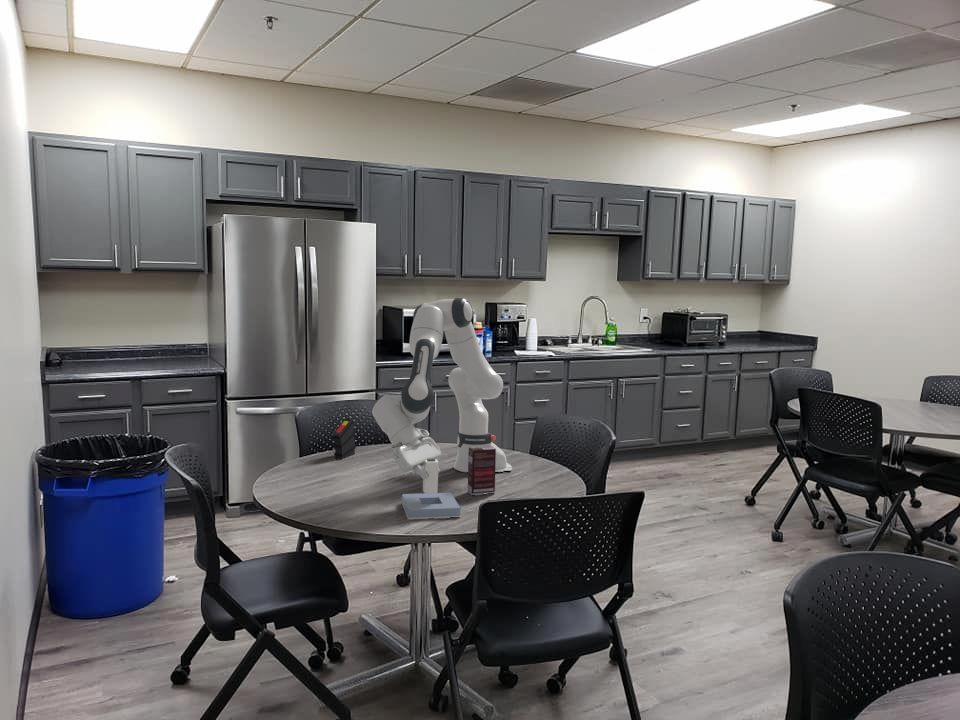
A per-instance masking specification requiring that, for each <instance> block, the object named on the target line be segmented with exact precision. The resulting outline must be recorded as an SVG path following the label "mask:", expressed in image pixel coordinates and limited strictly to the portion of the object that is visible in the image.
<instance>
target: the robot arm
mask: <svg viewBox="0 0 960 720" xmlns="http://www.w3.org/2000/svg"><path fill="white" fill-rule="evenodd" d="M473 310H474V309H473V307H472V304H471V303H470V301H469V300H467V299H466V298H464V297H456V298H444V299H439V300H435V301H430V302H425V303H424V302H423V303H422V304H419V305H417V306H416V307H415V309H414V311H413V314H412V319H413V321H412V325H411V329H410V334H409V352H410V354H411V355H412V356H413V357H412V359H413V361H412V367H411V372H410V376H409V378H408V380H407V381H406V383H405V384H404V386H403V388H402V389H401V394H397V395H396V394H395V395H393V394H392V395H391V394H384V395H382V396H380V397H379V398H378V399H377V400H376V401H375V403H374V404H373V407H372V409H371V411H372V412H371V413H372V416H373V418H374V420H375V422H376V423H377V424H378V426H379V428H380V429H381V430H382V432H384V433H385V434H386V435H387V437H388V439H389V441H390V443H391V444H392V445H391V446H390V452H391V453H392V456H393V459H394V461H395V463H396V465H397V466H398V468H399V469H400V471H401V472H403V473H407V472H409V471H410V472H411V471H412V470H413V472H414V473H415V474H417V475H418V476H420V478H422V480H423V479H427V478H428V477H429V474H428V473H427V471H426V472H425V471H424V468H423V469H422V467H424V462H425V461H426V460H427V458H435V459H437V460H439V458H441V456H442V450H441V449H440V447H439V445H438V444H437V443H436V442H435V440H434V439H433V438H432V437H430V433H429V431H428V430H427V429H423V428H418V427H415V424H418V423H419V422H423V421H424V419H426V418H427V416H428V415H429V412H430V409H431V405H432V403H433V402H434V398H435V395H434V390H433V389H434V388H433V386H432V381H431V376H432V370H433V369H432V368H433V362H434V360H435V359H436V358H437V357H438V356H439V353H440V350H441V348H442V344H443V338H444V337H445V339H446V343H447V345H448V349H449V352H450V355H451V357H452V360H453V362H454V363H455V364H456V365H457V366H458V367H455V368H453V369H452V370H451V371H450V372H449V375H448V378H447V379H448V386H449V388H450V389H451V391H452V392H453V393H454V396H455V399H456V402H457V407H458V413H459V415H458V416H459V427H458V429H459V430H458V432H457V441H456V442H457V443H456V444H457V445H456V446H457V453H456V458H455V462H454V465H453V469H455V470H456V471H459V472H462V473H467V472H468V454H469V447H485V446H492V447H494V448H495V449H496V463H495V472H503V471H510V470H512V471H513V466H512V465H511V464H510V463H509V462H507V457H506V454H505V452H504V451H503V450H502V449H501V448H500V447H498V445H496V444H495V443H493V442H495V441H496V439H497V437H496V435H494V434H491V433H490V432H489V430H488V429H489V412H488V410H487V409H486V407H485V406H484V404H483V401H482V400H493V399H494V400H495V399H497V398H499V396H500V395H502V392H503V390H504V381H503V378H502V376H501V375H499V373H497V372H496V371H495V370H494V369H493V368H492V366H491V364H490V363H489V362H488V361H487V359H486V358H485V355H484V353H483V352H482V348H481V346H480V344H479V340H478V336H477V334H476V330H475V327H474V325H473V323H472V321H473V316H474V311H473ZM444 335H445V336H444ZM440 473H441V469H440V468H439V466H438V474H440ZM503 473H504V472H503Z"/></svg>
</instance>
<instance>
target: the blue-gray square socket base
mask: <svg viewBox="0 0 960 720" xmlns="http://www.w3.org/2000/svg"><path fill="white" fill-rule="evenodd" d="M401 504H402V507H403V510H404V512H405V515H406V518H407V520H427V519H428V518H434V519H451V518H450V517H459V518H461V511H462V510H461V506H460V505H459V503H458V502H457V500H456V499H455V497H454V495H453V493H452V492H437V494H424V492H423V493H422V492H421V493H402V494H401Z"/></svg>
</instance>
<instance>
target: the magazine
mask: <svg viewBox="0 0 960 720" xmlns="http://www.w3.org/2000/svg"><path fill="white" fill-rule="evenodd" d="M353 424H354V421H353V420H352V418H344V419H343V420H342V421H341V422H340V424H338V426H337V427H336V428H335V430H334V431H333V432H332V436H331V439H333V441H334V444H333V446H332V447H333V448H334V453H333V456H334V459H335V458H337V459H336V460H344V459H346V458H349V457H350V456H353V455H355V454H356V452H355V449H356V448H357V445H356V443H355V442H356V441H355V435H356V431H354V426H353ZM343 458H344V459H343Z"/></svg>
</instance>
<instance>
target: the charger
mask: <svg viewBox="0 0 960 720" xmlns="http://www.w3.org/2000/svg"><path fill="white" fill-rule="evenodd" d="M439 464H440V462H439V460H438V459H435V458H427V460H426V461H425V462H424V465H423V470H424V471H425V472H426V471H427V473H428V474H429V477H428V478H427V479H422V492H423V493H424V494H437V493H438V485H439V473H438V467H439Z"/></svg>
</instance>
